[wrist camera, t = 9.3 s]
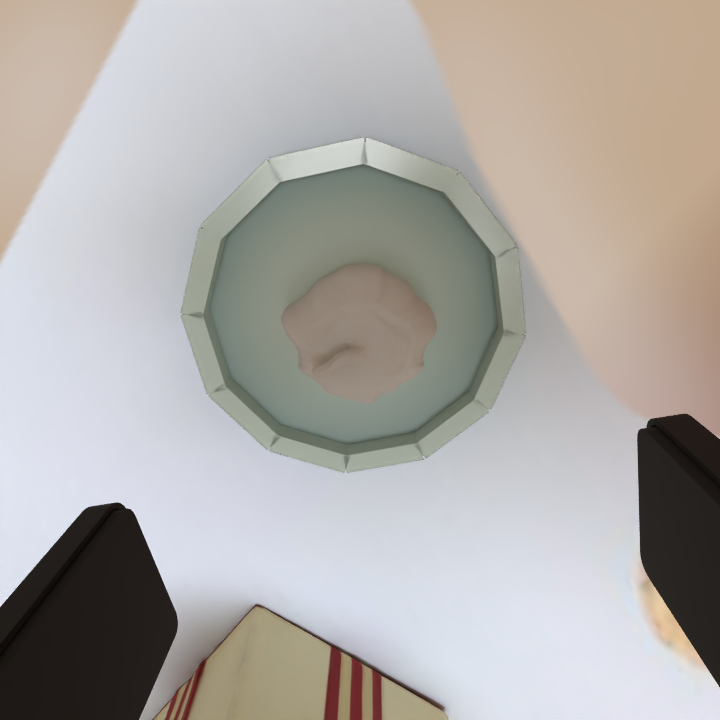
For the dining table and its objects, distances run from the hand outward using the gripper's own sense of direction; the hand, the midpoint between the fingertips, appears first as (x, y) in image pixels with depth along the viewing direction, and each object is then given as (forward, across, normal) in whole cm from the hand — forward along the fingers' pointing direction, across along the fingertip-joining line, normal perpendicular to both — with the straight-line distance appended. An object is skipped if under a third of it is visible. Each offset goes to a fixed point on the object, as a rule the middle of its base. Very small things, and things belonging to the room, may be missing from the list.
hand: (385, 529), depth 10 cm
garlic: (+14, +1, 0) cm, 14 cm away
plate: (+15, +1, 0) cm, 15 cm away
